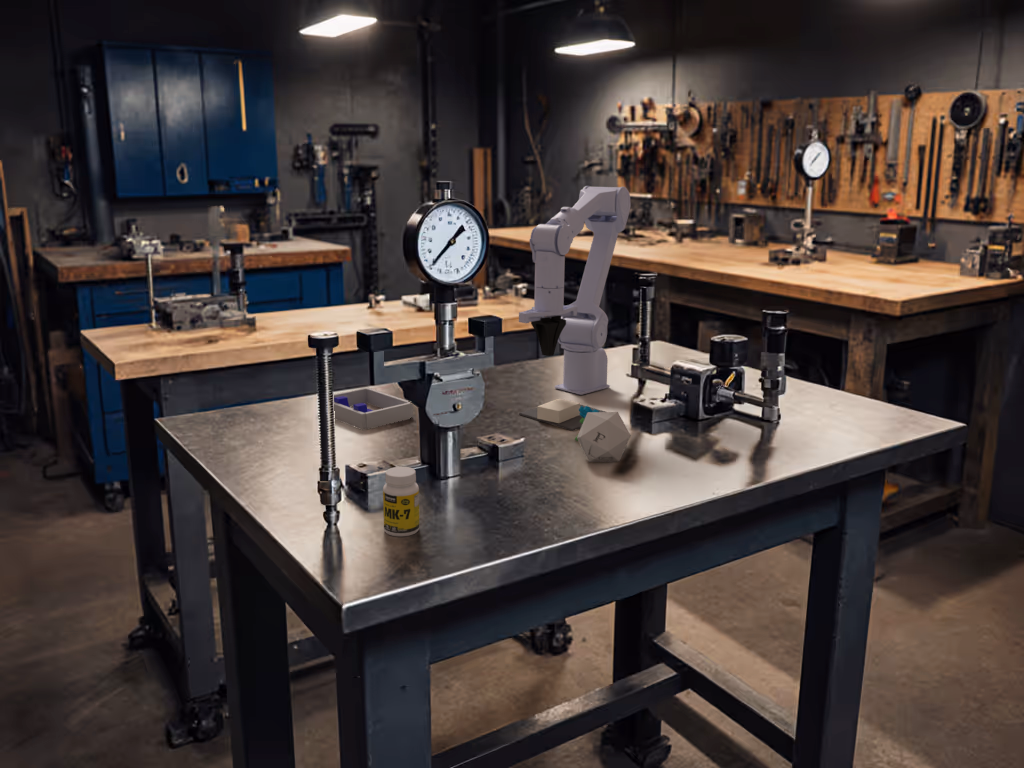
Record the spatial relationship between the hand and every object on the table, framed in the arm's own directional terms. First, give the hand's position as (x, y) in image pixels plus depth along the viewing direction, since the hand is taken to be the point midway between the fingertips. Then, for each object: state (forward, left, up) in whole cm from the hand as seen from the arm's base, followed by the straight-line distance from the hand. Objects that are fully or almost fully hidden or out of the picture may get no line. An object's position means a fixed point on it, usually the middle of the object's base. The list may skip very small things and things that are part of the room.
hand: (547, 355), depth 174 cm
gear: (+11, +23, -11) cm, 28 cm away
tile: (+2, +8, -9) cm, 12 cm away
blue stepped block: (+34, -18, -11) cm, 40 cm away
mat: (+2, +8, -10) cm, 13 cm away
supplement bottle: (+58, +29, -11) cm, 65 cm away
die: (+16, +28, -11) cm, 34 cm away
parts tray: (+31, -19, -10) cm, 38 cm away
